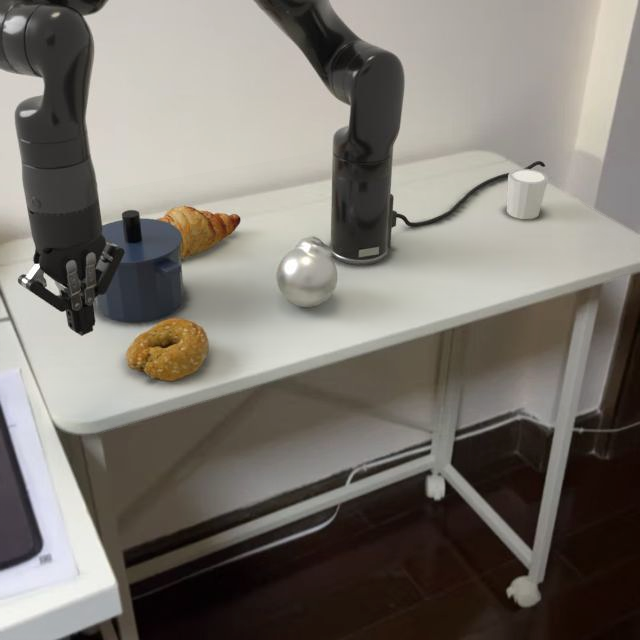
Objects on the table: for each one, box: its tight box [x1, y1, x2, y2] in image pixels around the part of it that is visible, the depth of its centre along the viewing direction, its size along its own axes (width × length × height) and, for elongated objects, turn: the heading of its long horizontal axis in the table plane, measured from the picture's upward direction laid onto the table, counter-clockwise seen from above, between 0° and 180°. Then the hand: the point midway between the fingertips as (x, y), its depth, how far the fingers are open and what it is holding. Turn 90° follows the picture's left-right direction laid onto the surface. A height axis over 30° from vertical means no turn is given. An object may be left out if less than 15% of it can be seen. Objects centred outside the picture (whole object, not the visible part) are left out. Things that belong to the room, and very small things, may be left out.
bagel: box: [125, 317, 210, 382], centre depth 114 cm, size 10×11×5 cm
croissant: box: [155, 205, 242, 260], centre depth 141 cm, size 21×10×8 cm, turn 123°
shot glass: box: [506, 168, 549, 220], centre depth 153 cm, size 7×7×7 cm
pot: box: [94, 224, 185, 324], centre depth 126 cm, size 13×18×10 cm
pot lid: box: [102, 209, 182, 266], centre depth 122 cm, size 14×14×5 cm
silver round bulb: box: [276, 235, 338, 308], centre depth 126 cm, size 9×10×10 cm
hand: (82, 331), depth 102 cm, fingers closed
